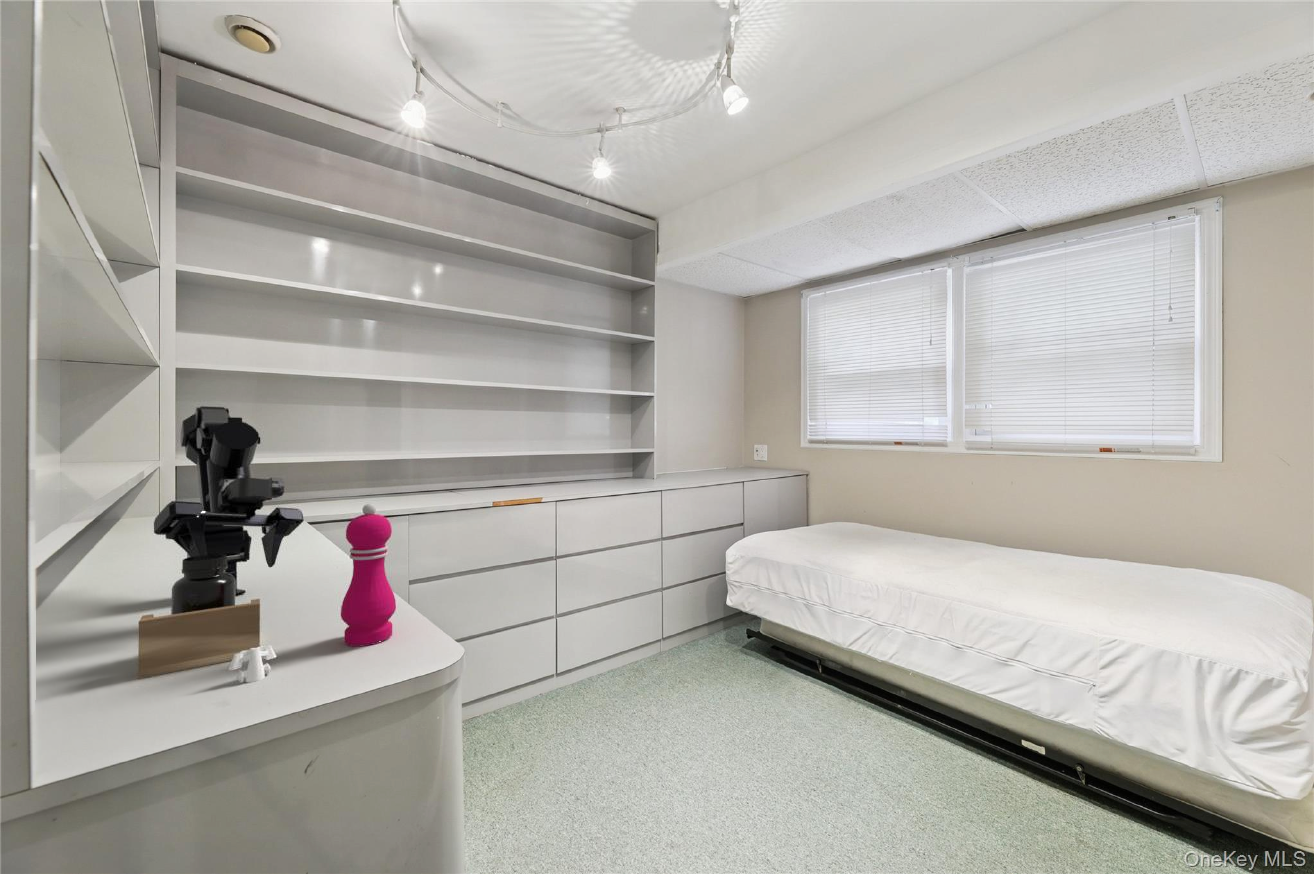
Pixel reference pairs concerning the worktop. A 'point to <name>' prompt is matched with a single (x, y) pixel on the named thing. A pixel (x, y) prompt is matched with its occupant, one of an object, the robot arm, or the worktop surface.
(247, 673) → the clip
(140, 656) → the holder
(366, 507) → the pepper mill
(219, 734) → the worktop surface
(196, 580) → the supplement bottle
